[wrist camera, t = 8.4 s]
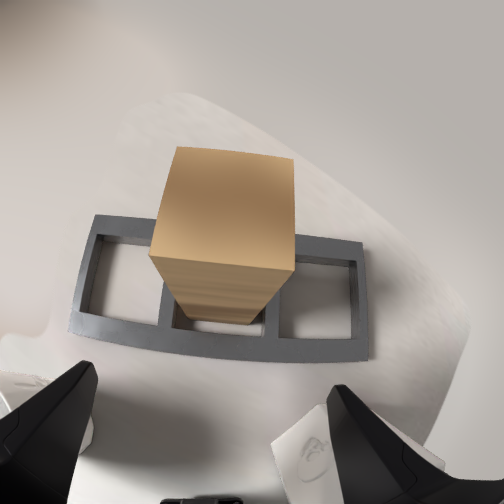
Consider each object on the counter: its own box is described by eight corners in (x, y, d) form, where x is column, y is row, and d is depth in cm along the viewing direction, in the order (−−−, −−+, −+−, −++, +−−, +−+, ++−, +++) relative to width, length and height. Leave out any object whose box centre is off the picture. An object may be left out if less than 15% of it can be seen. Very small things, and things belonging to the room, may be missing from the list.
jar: (338, 378, 17) (456, 458, 5) (392, 430, 17) (487, 495, 5) (245, 457, 16) (268, 587, 4) (312, 498, 15) (362, 593, 4)
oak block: (248, 325, 20) (294, 270, 8) (188, 319, 20) (148, 255, 8) (252, 269, 22) (293, 159, 10) (195, 263, 22) (177, 146, 10)
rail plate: (358, 361, 20) (367, 360, 19) (76, 334, 18) (67, 331, 17) (354, 249, 24) (362, 242, 23) (101, 222, 22) (95, 214, 21)
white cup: (115, 411, 16) (45, 438, 7) (83, 475, 13) (21, 517, 4) (44, 353, 17) (-38, 335, 8) (18, 417, 14) (-56, 424, 5)
